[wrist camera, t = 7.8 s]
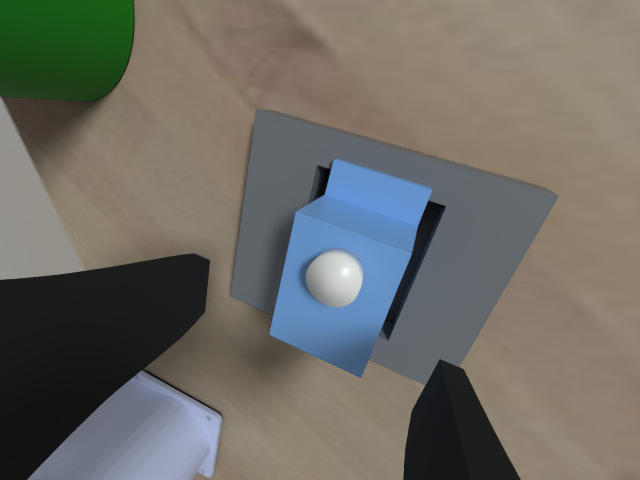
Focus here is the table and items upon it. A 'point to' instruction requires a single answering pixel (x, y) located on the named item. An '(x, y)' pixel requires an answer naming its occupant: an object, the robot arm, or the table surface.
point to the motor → (63, 47)
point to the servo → (347, 264)
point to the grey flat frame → (439, 253)
